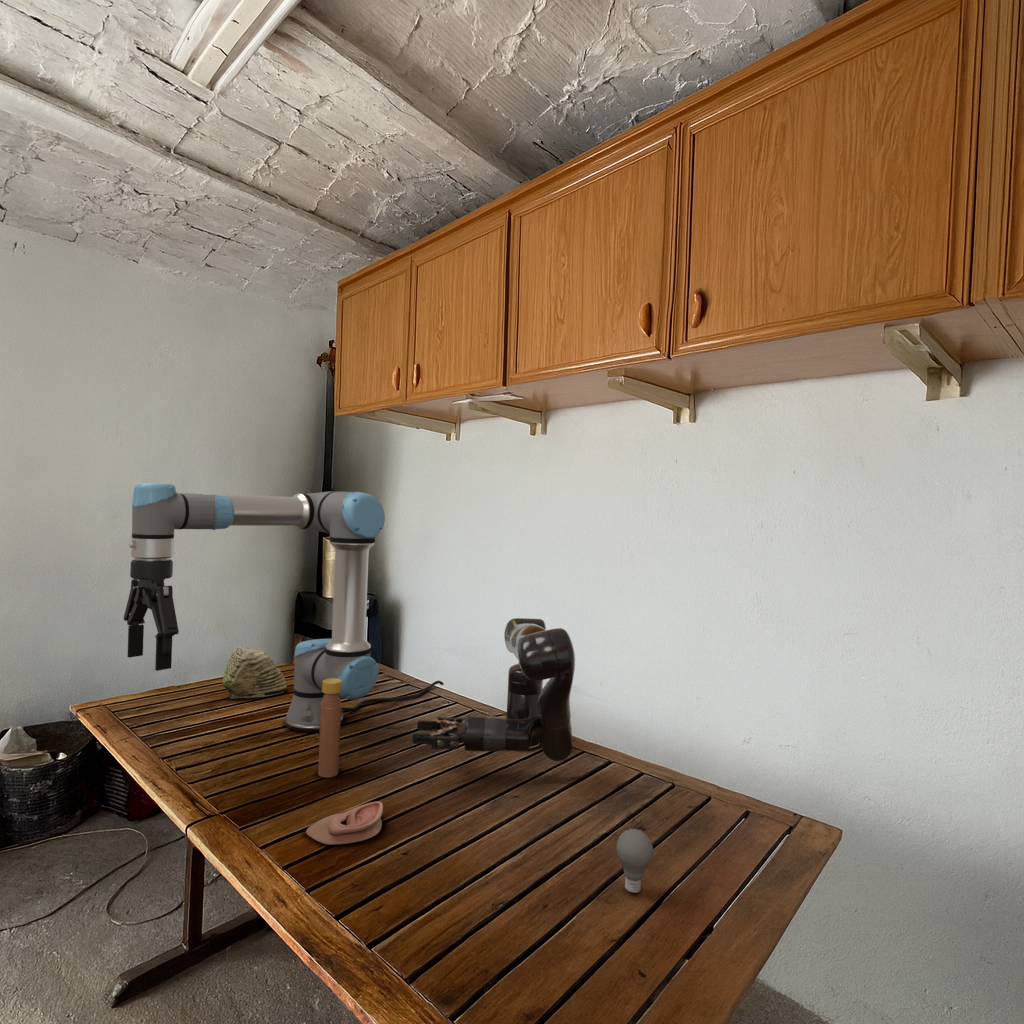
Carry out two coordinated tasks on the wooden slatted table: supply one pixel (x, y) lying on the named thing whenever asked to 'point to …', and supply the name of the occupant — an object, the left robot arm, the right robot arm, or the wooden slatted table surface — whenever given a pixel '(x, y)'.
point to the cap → (331, 686)
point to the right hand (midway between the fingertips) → (415, 731)
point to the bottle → (329, 736)
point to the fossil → (252, 674)
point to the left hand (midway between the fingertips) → (148, 662)
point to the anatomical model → (348, 825)
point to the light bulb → (634, 857)
